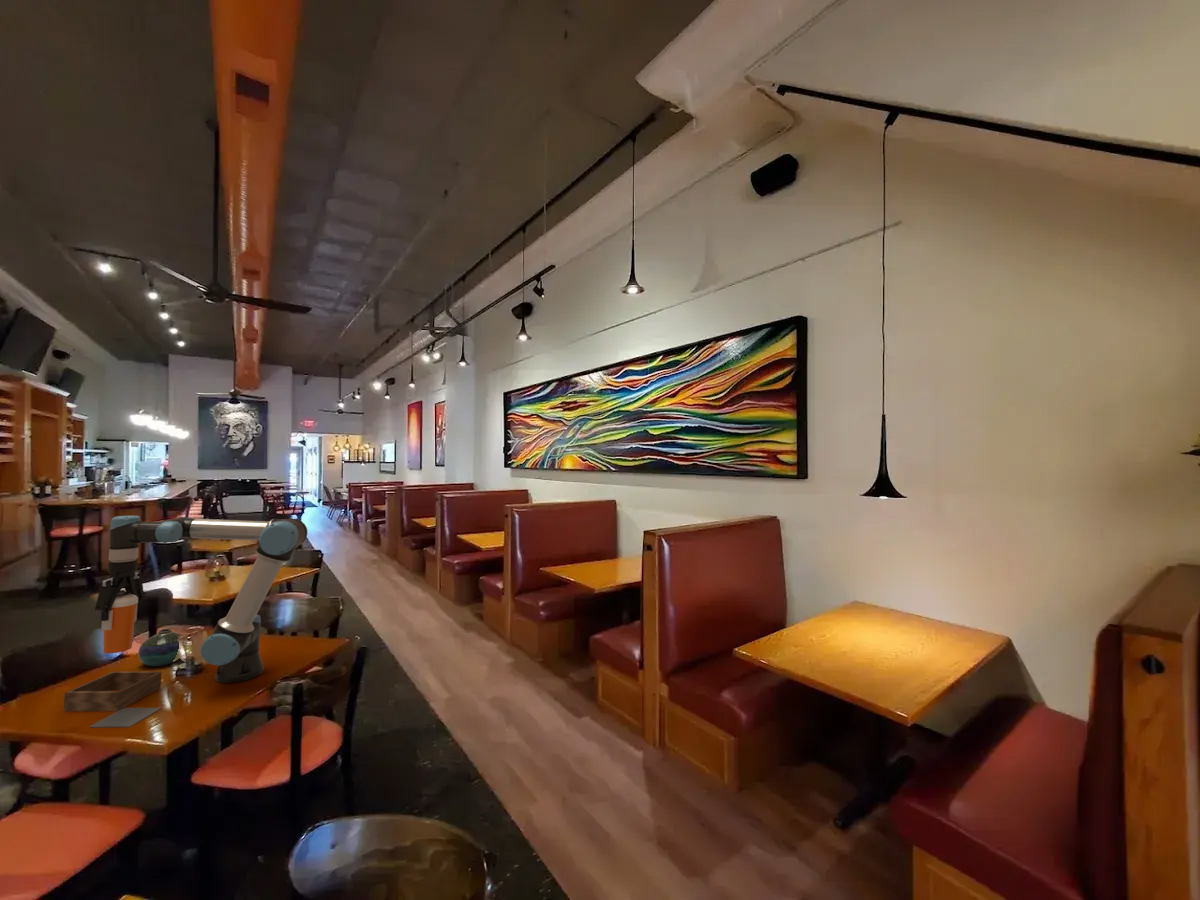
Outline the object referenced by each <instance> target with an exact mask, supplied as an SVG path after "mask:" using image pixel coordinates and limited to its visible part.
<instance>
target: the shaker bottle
mask: <svg viewBox="0 0 1200 900" xmlns="http://www.w3.org/2000/svg"><path fill="white" fill-rule="evenodd" d="M129 593H132V592H130V591H127V592H126V591H125V589H121V590H120V591H119V592H118V594H117V596H116V598H115V601H114V603H113V605H112V607H111V610H113V617H112V630H103V653H104V654H116V653H122V652H126V651H128V650H131V649H132V648H133V642H134V641H133V639H134V633H135V631H134V630H135V623H136V621H135V616H136V607H137V603H138V604H139V602H138V597H137V596H136V595H133V594H129ZM106 607H107V606H106Z"/></svg>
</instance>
